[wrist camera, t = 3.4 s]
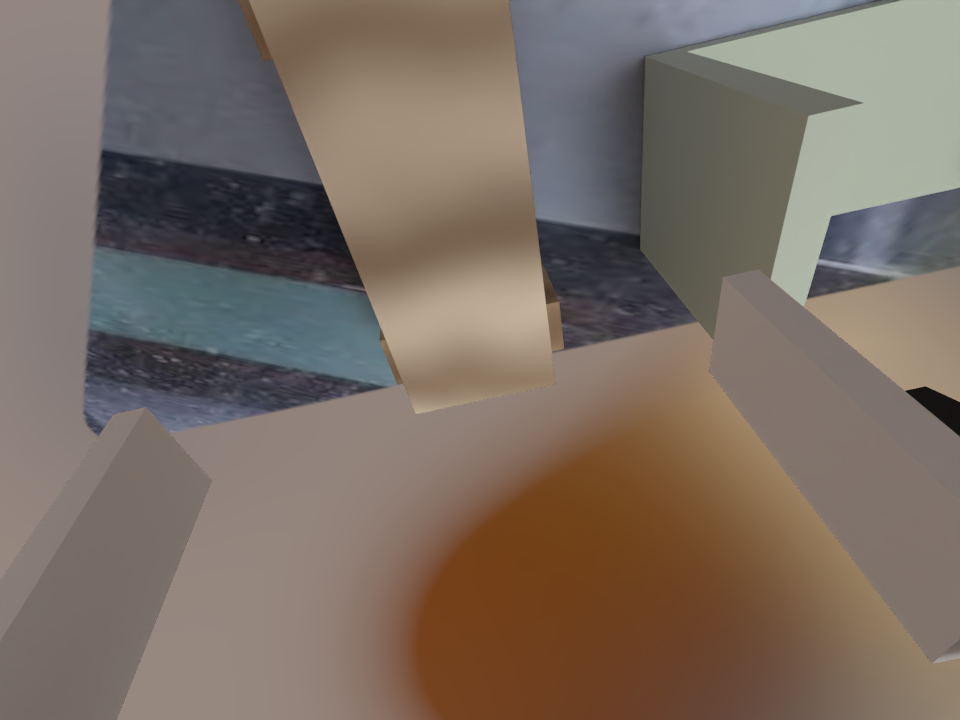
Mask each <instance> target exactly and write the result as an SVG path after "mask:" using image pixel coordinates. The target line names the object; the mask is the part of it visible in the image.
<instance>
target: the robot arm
mask: <svg viewBox="0 0 960 720" xmlns="http://www.w3.org/2000/svg"><path fill="white" fill-rule="evenodd" d="M709 372H710V374H711V375H712V376H713V378H714V379H715V380H716V381H717V383H718V384H719V385H720V387H721V388H722V389H723V391H724V392H725V393H726V395H727V396H728V397H729V398H730V400H731V401H732V402H733V404H734V405H735V406H736V408H737V409H738V410H739V411H740V413H741V414H742V415H743V417H744V418H745V419H746V421H747V422H748V423H749V425H750V426H751V427H752V429H753V430H754V431H755V433H756V434H757V435H758V436H759V438H760V439H761V440H762V442H763V443H764V444H765V446H766V447H767V448H768V450H769V451H770V452H771V454H772V455H773V456H774V457H775V459H776V460H777V461H778V463H779V464H780V465H781V467H782V468H783V469H784V471H785V472H786V473H787V475H788V476H789V477H790V478H791V480H792V481H793V482H794V484H795V485H796V486H797V488H798V489H799V490H800V492H801V493H802V494H803V495H804V497H805V498H806V499H807V501H808V502H809V503H810V505H811V506H812V507H813V509H814V510H815V511H816V512H817V514H818V515H819V516H820V518H821V519H822V520H823V522H824V523H825V524H826V526H827V527H828V528H829V530H830V531H831V532H832V533H833V535H834V536H835V537H836V539H837V540H838V541H839V543H840V544H841V545H842V547H843V548H844V549H845V550H846V552H847V553H848V554H849V556H850V557H851V558H852V560H853V561H854V562H855V563H856V565H857V566H858V567H859V569H860V570H861V571H862V573H863V574H864V575H865V576H866V578H867V579H868V581H869V582H870V583H871V584H872V586H873V587H874V588H875V590H876V591H877V592H878V594H879V595H880V596H881V598H882V599H883V600H884V601H885V603H886V604H887V606H888V607H889V608H890V609H891V611H892V612H893V613H894V615H895V616H896V617H897V619H898V620H899V621H900V623H901V624H902V625H903V626H904V628H905V629H906V630H907V632H908V633H909V634H910V636H911V637H912V638H913V640H914V641H915V642H916V644H917V645H918V646H919V647H920V649H921V650H922V651H923V653H924V654H925V655H926V656H927V658H928V659H929V660H930V662H931V663H937V662H942V661H947V660H952V659H957V658H960V402H958V401H956V400H954V399H952V398H949V397H947V396H945V395H943V394H941V393H939V392H936V391H934V390H932V389H930V388H928V387H921V388H916V389H912V390H907V391H904V390H903V389H902V388H901V387H899V386H898V385H897V384H896V383H894V382H893V381H892V380H891V379H890V378H889V377H887V376H886V375H885V374H884V373H882V372H881V371H880V370H879V369H878V368H876V367H875V366H874V365H873V364H872V363H870V362H869V361H868V360H867V359H866V358H864V357H863V356H862V355H861V354H860V353H858V352H857V351H856V350H855V349H853V348H852V347H851V346H850V345H849V344H848V343H846V342H845V341H844V340H843V339H842V338H840V337H839V336H838V335H837V334H836V333H834V332H833V331H832V330H831V329H829V328H828V327H827V326H826V325H825V324H823V323H822V322H821V321H820V320H819V319H817V318H816V317H815V316H814V315H813V314H811V313H810V312H809V311H808V310H807V309H805V308H804V307H803V306H802V305H801V304H799V303H798V302H797V301H796V300H795V299H793V298H792V297H791V296H790V295H789V294H787V293H786V292H785V291H784V290H783V289H781V288H780V287H779V286H778V285H776V284H775V283H774V282H773V281H772V280H770V279H769V278H768V277H767V276H766V275H764V274H763V273H762V272H761V271H760V270H753V271H749V272H744V273H740V274H735V275H731V276H727V277H723V281H722V288H721V294H720V301H719V308H718V314H717V321H716V327H715V334H714V340H713V347H712V354H711V360H710V367H709ZM211 482H212V480H211V479H210V477H209V476H208V475H207V474H206V473H205V472H204V471H203V470H202V469H201V467H199V465H198V464H197V463H196V462H195V461H194V460H193V459H192V458H191V456H190V455H189V454H188V453H187V452H186V451H185V450H184V449H183V448H182V447H181V445H180V444H179V443H178V442H177V441H176V440H175V439H174V438H173V437H172V436H171V434H170V433H169V432H168V431H167V430H166V429H165V428H164V427H163V426H162V425H161V423H160V422H159V421H158V420H157V419H156V418H155V417H154V416H153V415H152V413H151V412H150V411H149V410H148V409H147V408H146V407H145V408H140V409H136V410H132V411H127V412H123V413H118V414H114V415H113V416H112V418H111V419H110V420H109V422H108V423H107V425H106V426H105V428H104V429H103V431H102V432H101V434H100V435H99V436H98V438H97V439H96V441H95V442H94V444H93V445H92V447H91V448H90V450H89V451H88V453H87V454H86V455H85V457H84V458H83V460H82V462H81V463H80V464H79V466H78V467H77V469H76V470H75V471H74V473H73V475H72V476H71V477H70V479H69V480H68V482H67V483H66V485H65V486H64V488H63V489H62V491H61V492H60V494H59V495H58V496H57V498H56V499H55V501H54V502H53V504H52V505H51V506H50V508H49V509H48V511H47V512H46V514H45V515H44V517H43V518H42V520H41V521H40V523H39V524H38V526H37V527H36V528H35V530H34V532H33V533H32V534H31V536H30V537H29V539H28V540H27V541H26V543H25V544H24V546H23V547H22V549H21V550H20V552H19V553H18V555H17V556H16V558H15V559H14V560H13V562H12V564H11V565H10V566H9V568H8V569H7V571H6V572H5V574H4V575H3V576H2V578H1V579H0V720H117V718H118V715H119V713H120V710H121V708H122V705H123V703H124V700H125V698H126V695H127V693H128V690H129V688H130V685H131V683H132V680H133V678H134V675H135V673H136V670H137V668H138V665H139V663H140V660H141V658H142V655H143V653H144V650H145V648H146V645H147V643H148V640H149V637H150V635H151V632H152V630H153V628H154V625H155V623H156V620H157V617H158V615H159V612H160V610H161V607H162V605H163V602H164V600H165V597H166V595H167V592H168V590H169V587H170V585H171V582H172V580H173V577H174V575H175V572H176V570H177V567H178V565H179V562H180V560H181V557H182V555H183V552H184V549H185V547H186V545H187V542H188V540H189V537H190V535H191V532H192V530H193V527H194V524H195V522H196V519H197V517H198V514H199V512H200V509H201V507H202V504H203V502H204V499H205V497H206V494H207V492H208V489H209V487H210V484H211Z"/></svg>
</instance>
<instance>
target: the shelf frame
mask: <svg viewBox="0 0 960 720" xmlns="http://www.w3.org/2000/svg"><path fill="white" fill-rule="evenodd" d="M956 188H960V0H880V1H876V2H872V3H867V4H863V5H859V6H855V7H851V8H846V9H842V10H838V11H834V12H830V13H825V14H821V15H817V16H813V17H809V18H804V19H800V20H796V21H792V22H788V23H783V24H779V25H775V26H771V27H767V28H762V29H758V30H754V31H750V32H746V33H741V34H737V35H733V36H729V37H725V38H720V39H716V40H712V41H708V42H704V43H699V44H695V45H691V46H687V47H683V48H679V49H674V50H670V51H666V52H662V53H658V54H653V55H649V56H645V79H644V116H643V153H642V189H641V226H640V250H641V251H642V252H643V254H644V255H645V256H646V257H647V259H648V260H649V261H650V262H651V264H652V265H653V266H654V267H655V268H656V270H657V271H658V272H659V273H660V275H661V276H662V277H663V278H664V280H665V281H666V282H667V283H668V285H669V286H670V287H671V288H672V290H673V291H674V292H675V293H676V294H677V296H678V297H679V298H680V299H681V301H682V302H683V303H684V304H685V306H686V307H687V308H688V309H689V311H690V312H691V313H692V314H693V316H694V317H695V318H696V319H697V320H698V322H699V323H700V324H701V325H702V327H703V328H704V329H705V330H706V332H707V333H708V334H709V335H710V337H711V338H712V339H713V340H714V334H715V327H716V321H717V314H718V308H719V301H720V294H721V288H722V281H723V277H727V276H731V275H735V274H740V273H744V272H749V271H753V270H760V271H761V272H762V273H763V274H764V275H766V276H767V277H768V278H769V279H770V280H772V281H773V282H774V283H775V284H776V285H778V286H779V287H780V288H781V289H783V290H784V291H785V292H786V293H787V294H789V295H790V296H791V297H792V298H793V299H795V300H796V301H797V302H798V303H799V304H801V305H802V306H803V307H804V305H805V302H806V299H807V295H808V292H809V289H810V285H811V282H812V278H813V275H814V272H815V268H816V265H817V262H818V258H819V255H820V251H821V248H822V245H823V241H824V238H825V234H826V231H827V228H828V224H829V221H830V218H831V216H833V215H838V214H842V213H847V212H851V211H856V210H860V209H865V208H869V207H874V206H879V205H883V204H888V203H892V202H897V201H901V200H906V199H910V198H915V197H919V196H924V195H928V194H933V193H937V192H942V191H947V190H951V189H956Z"/></svg>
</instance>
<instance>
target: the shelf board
mask: <svg viewBox="0 0 960 720" xmlns="http://www.w3.org/2000/svg"><path fill="white" fill-rule="evenodd" d="M249 2H250V4H251V7H252V9H253V12H254V14H255V17H256V19H257V22H258V24H259V27H260V29H261V32H262V34H263V37H264V39H265V42H266V44H267V47H268V49H269V52H270V54H271V56H272V59H273V61H274V64H275V66H276V69H277V71H278V74H279V76H280V79H281V81H282V84H283V86H284V89H285V91H286V94H287V96H288V99H289V101H290V104H291V106H292V109H293V111H294V114H295V116H296V119H297V121H298V123H299V126H300V128H301V131H302V133H303V136H304V138H305V141H306V143H307V146H308V148H309V151H310V153H311V156H312V158H313V161H314V163H315V166H316V168H317V171H318V173H319V176H320V178H321V181H322V183H323V185H324V188H325V190H326V193H327V195H328V198H329V200H330V203H331V205H332V208H333V210H334V213H335V215H336V218H337V220H338V223H339V225H340V228H341V230H342V233H343V235H344V238H345V240H346V243H347V245H348V247H349V250H350V252H351V255H352V257H353V260H354V262H355V265H356V267H357V270H358V272H359V275H360V277H361V280H362V282H363V285H364V287H365V290H366V292H367V295H368V297H369V300H370V302H371V305H372V307H373V310H374V312H375V314H376V317H377V319H378V322H379V324H380V327H381V329H382V332H383V334H384V337H385V339H386V342H387V344H388V347H389V349H390V352H391V354H392V357H393V359H394V362H395V364H396V367H397V369H398V372H399V374H400V376H401V379H402V381H403V384H404V386H405V389H406V391H407V394H408V396H409V399H410V401H411V404H412V406H413V409H414V411H415V413H416V414H418V413H423V412H428V411H433V410H437V409H442V408H447V407H452V406H456V405H461V404H466V403H471V402H475V401H480V400H485V399H490V398H495V397H499V396H504V395H509V394H513V393H518V392H523V391H527V390H532V389H537V388H542V387H547V386H551V385H555V384H556V382H555V374H554V366H553V357H552V349H551V341H550V332H549V324H548V316H547V308H546V299H545V291H544V283H543V275H542V266H541V258H540V250H539V242H538V234H537V225H536V217H535V209H534V201H533V192H532V184H531V176H530V168H529V159H528V151H527V143H526V135H525V126H524V118H523V110H522V102H521V94H520V85H519V77H518V69H517V61H516V52H515V44H514V36H513V28H512V19H511V11H510V3H509V0H249Z"/></svg>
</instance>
